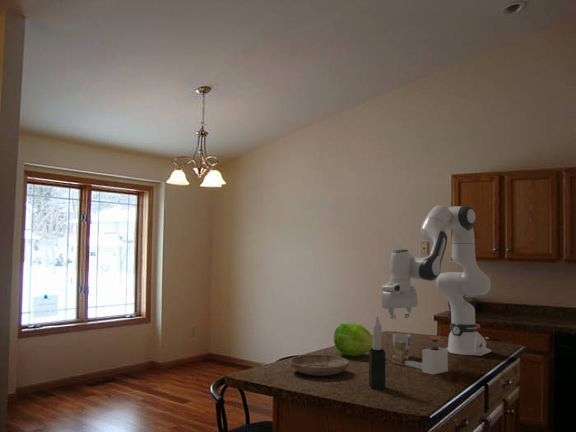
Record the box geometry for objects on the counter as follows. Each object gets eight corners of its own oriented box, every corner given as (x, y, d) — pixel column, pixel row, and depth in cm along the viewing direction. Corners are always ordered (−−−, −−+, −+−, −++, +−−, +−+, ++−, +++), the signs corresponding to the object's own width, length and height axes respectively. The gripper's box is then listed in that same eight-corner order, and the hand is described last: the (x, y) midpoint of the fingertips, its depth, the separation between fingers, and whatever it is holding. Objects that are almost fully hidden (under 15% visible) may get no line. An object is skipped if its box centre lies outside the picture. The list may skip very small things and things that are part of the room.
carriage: (399, 361, 227) (399, 340, 228) (408, 363, 223) (408, 341, 224) (392, 362, 224) (392, 341, 225) (401, 364, 220) (401, 342, 221)
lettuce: (367, 365, 229) (369, 332, 228) (326, 356, 239) (327, 324, 238) (379, 355, 244) (381, 324, 243) (340, 346, 254) (342, 316, 252)
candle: (368, 385, 186) (368, 315, 188) (382, 385, 187) (382, 315, 189) (371, 389, 181) (372, 317, 183) (386, 389, 182) (386, 317, 184)
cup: (410, 358, 235) (410, 336, 236) (392, 357, 237) (392, 335, 237) (410, 355, 243) (410, 333, 244) (392, 354, 245) (392, 333, 245)
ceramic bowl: (280, 368, 212) (280, 356, 212) (331, 364, 221) (331, 352, 221) (304, 382, 190) (304, 368, 191) (359, 377, 200) (359, 363, 200)
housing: (437, 368, 215) (437, 347, 215) (447, 371, 211) (447, 348, 212) (422, 372, 209) (422, 349, 209) (432, 374, 205) (432, 351, 205)
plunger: (433, 350, 213) (433, 336, 214) (442, 352, 210) (442, 337, 210) (427, 351, 211) (427, 337, 211) (436, 353, 208) (436, 338, 208)
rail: (396, 362, 227) (396, 357, 227) (431, 370, 212) (431, 365, 212) (393, 362, 226) (393, 358, 226) (428, 370, 211) (428, 365, 211)
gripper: (409, 285, 235) (409, 316, 234) (379, 286, 223) (379, 318, 222) (420, 286, 230) (421, 317, 229) (390, 287, 218) (390, 320, 217)
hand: (400, 318), depth 225 cm, fingers open, 8 cm apart
